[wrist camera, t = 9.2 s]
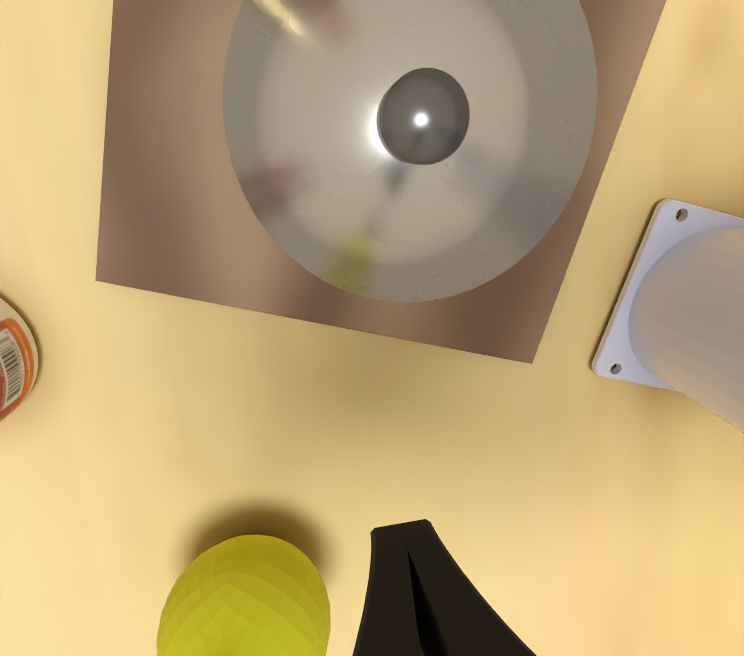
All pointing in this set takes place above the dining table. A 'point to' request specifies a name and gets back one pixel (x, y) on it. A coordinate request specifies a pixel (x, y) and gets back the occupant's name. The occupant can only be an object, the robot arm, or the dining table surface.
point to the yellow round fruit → (247, 603)
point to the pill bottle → (15, 360)
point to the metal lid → (409, 134)
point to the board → (246, 233)
